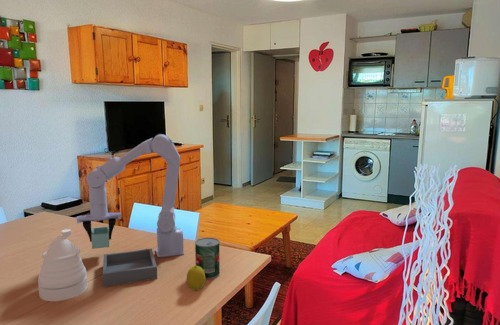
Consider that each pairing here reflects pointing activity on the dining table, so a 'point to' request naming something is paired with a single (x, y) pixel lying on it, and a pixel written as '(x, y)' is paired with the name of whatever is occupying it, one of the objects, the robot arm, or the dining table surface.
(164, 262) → the dining table surface
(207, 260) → the canned tomato
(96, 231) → the teal crate
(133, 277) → the charcoal crate
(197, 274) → the lemon
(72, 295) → the honey pot
